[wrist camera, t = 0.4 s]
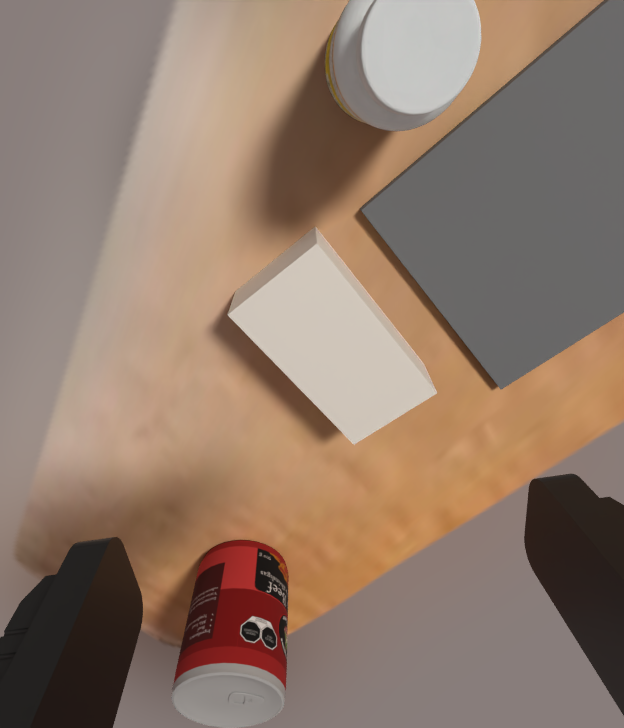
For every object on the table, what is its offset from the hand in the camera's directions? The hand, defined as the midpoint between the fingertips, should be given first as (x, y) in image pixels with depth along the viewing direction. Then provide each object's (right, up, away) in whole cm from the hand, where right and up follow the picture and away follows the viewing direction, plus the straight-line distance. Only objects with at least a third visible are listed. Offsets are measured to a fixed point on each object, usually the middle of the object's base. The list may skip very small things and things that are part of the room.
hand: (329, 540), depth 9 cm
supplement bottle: (+3, +19, +15) cm, 24 cm away
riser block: (+1, +6, +22) cm, 23 cm away
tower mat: (+14, +12, +19) cm, 26 cm away
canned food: (-6, -15, +33) cm, 37 cm away
